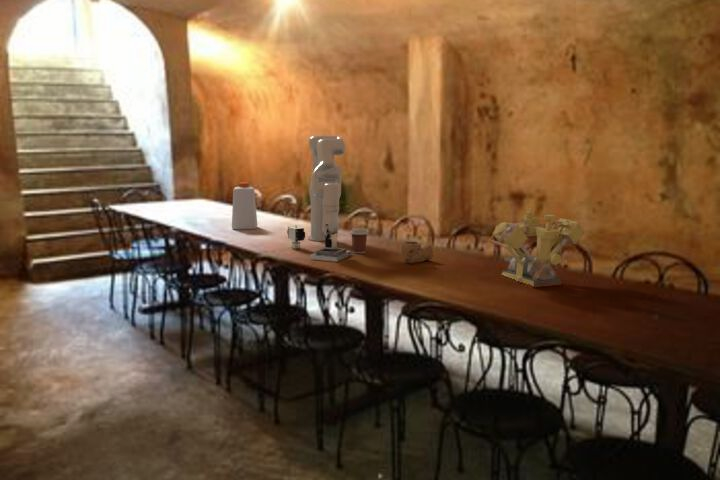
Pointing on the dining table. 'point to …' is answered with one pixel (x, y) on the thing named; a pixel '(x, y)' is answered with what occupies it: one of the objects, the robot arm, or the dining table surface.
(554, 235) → the mechanical engine
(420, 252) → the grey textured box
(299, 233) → the pneumatic valve
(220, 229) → the dining table surface
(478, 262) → the dining table surface
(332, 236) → the pump
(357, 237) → the coffee cup
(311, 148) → the robot arm
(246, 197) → the plastic bottle
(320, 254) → the motor base
